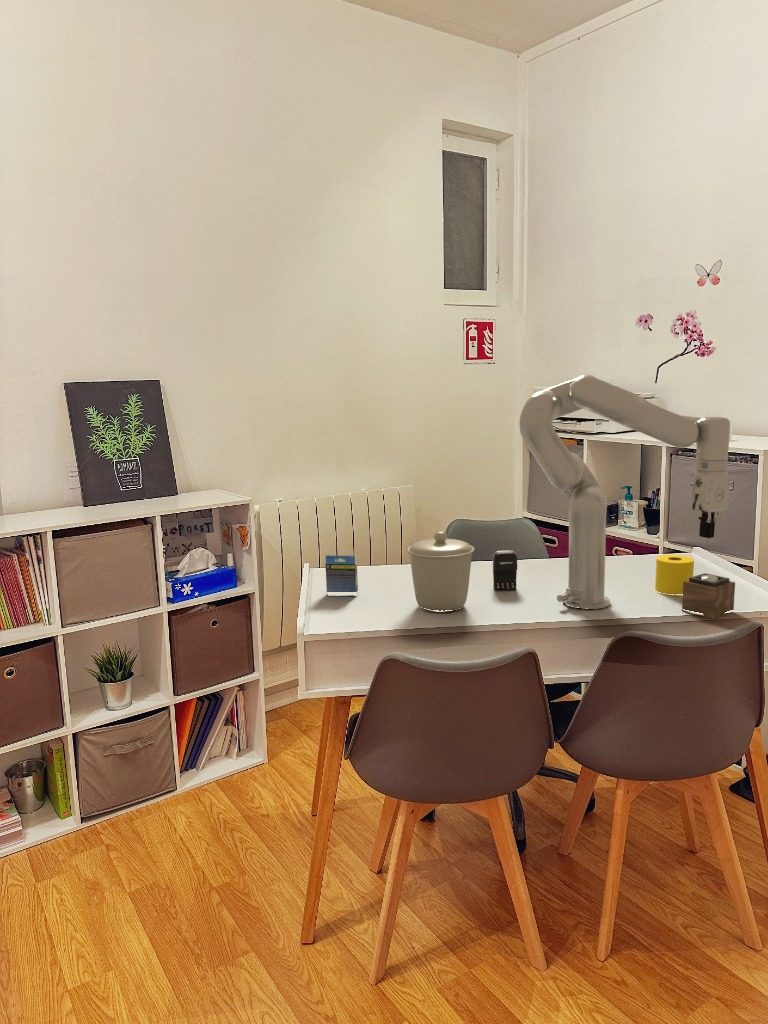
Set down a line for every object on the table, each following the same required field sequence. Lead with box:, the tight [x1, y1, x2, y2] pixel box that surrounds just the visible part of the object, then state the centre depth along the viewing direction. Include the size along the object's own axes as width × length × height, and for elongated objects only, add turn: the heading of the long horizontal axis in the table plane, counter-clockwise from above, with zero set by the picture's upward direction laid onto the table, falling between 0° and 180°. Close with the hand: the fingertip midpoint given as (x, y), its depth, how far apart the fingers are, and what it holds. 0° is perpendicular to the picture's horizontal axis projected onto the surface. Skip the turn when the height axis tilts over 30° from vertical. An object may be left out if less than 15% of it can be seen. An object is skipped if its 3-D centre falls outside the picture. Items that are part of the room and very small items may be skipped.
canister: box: [406, 531, 475, 611], centre depth 215 cm, size 18×18×21 cm
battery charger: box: [492, 550, 518, 591], centre depth 231 cm, size 7×4×11 cm, turn 89°
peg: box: [701, 574, 718, 582], centre depth 207 cm, size 4×4×8 cm
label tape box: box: [325, 554, 359, 593], centre depth 231 cm, size 9×4×12 cm, turn 83°
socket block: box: [681, 572, 736, 620], centre depth 207 cm, size 9×9×9 cm
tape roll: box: [654, 554, 695, 595], centre depth 226 cm, size 10×10×9 cm
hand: (706, 536), depth 205 cm, fingers closed
